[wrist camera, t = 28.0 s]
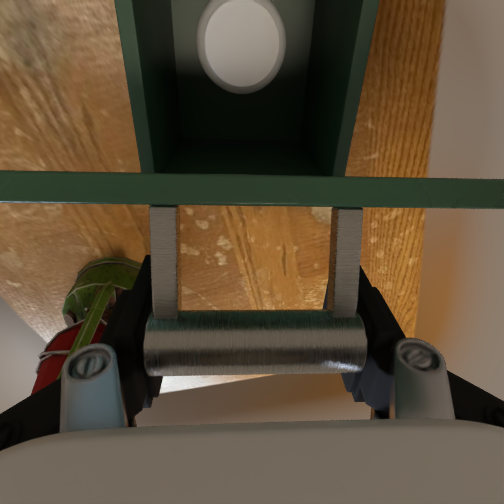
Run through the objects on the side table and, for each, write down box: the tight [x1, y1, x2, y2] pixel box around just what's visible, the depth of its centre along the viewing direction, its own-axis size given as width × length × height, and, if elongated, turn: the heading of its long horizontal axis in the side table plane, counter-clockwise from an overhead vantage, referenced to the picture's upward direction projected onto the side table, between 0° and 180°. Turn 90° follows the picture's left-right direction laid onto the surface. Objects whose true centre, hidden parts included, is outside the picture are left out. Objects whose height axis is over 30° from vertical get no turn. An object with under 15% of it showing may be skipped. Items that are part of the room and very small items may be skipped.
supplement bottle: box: [196, 0, 286, 94], centre depth 21 cm, size 5×5×10 cm
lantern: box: [31, 257, 142, 395], centre depth 26 cm, size 14×11×30 cm
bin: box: [114, 0, 379, 176], centre depth 21 cm, size 13×12×12 cm
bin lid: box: [0, 170, 504, 376], centre depth 13 cm, size 14×12×5 cm
